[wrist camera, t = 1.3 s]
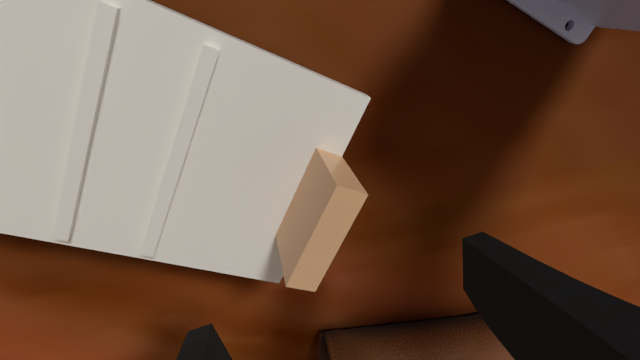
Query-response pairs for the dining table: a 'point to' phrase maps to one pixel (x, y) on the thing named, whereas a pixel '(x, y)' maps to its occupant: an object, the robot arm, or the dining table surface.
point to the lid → (171, 142)
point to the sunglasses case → (415, 341)
